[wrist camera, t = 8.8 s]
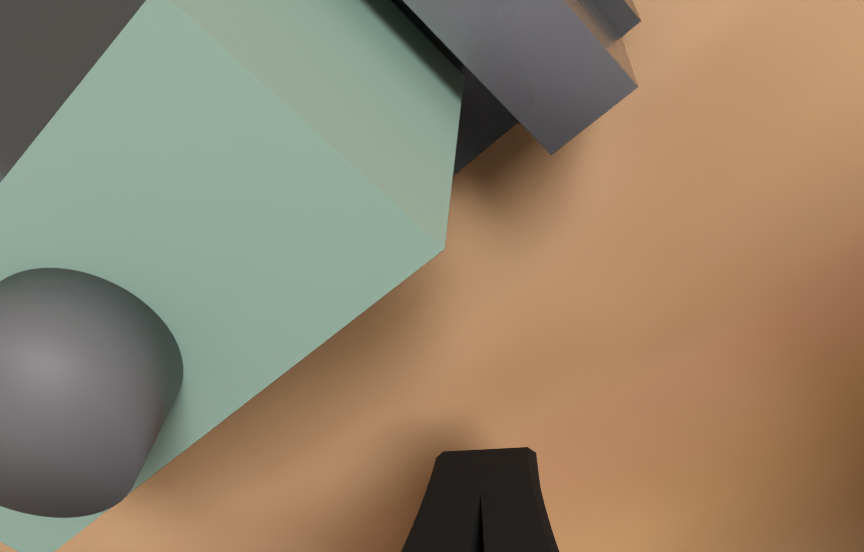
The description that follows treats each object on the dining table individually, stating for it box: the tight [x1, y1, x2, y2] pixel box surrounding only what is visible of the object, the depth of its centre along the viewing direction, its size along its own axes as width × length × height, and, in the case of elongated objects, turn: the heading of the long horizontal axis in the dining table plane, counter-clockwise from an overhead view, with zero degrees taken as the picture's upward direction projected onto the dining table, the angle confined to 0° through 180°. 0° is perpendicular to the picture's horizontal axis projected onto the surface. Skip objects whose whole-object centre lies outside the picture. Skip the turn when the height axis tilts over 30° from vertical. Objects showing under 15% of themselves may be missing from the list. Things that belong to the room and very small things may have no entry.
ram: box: [0, 0, 464, 552], centre depth 9 cm, size 3×7×5 cm, turn 134°
